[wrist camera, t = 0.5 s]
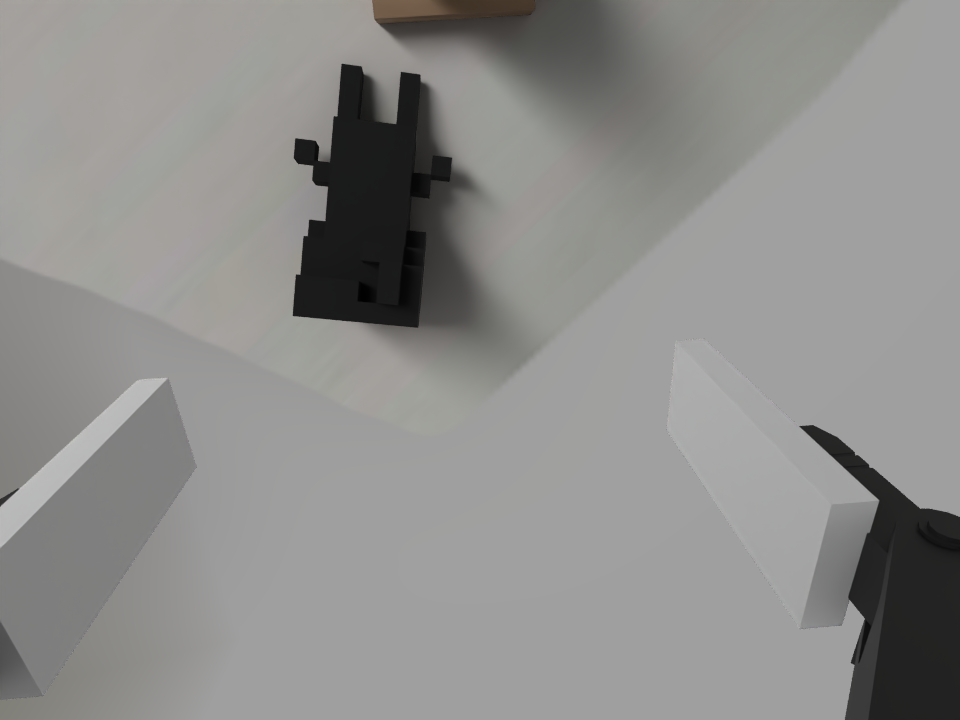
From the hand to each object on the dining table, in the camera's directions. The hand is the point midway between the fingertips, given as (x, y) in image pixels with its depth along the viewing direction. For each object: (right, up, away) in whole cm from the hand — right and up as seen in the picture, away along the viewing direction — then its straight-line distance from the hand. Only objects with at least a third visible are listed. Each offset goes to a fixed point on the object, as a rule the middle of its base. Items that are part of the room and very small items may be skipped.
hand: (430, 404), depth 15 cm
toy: (-6, +12, +23) cm, 26 cm away
